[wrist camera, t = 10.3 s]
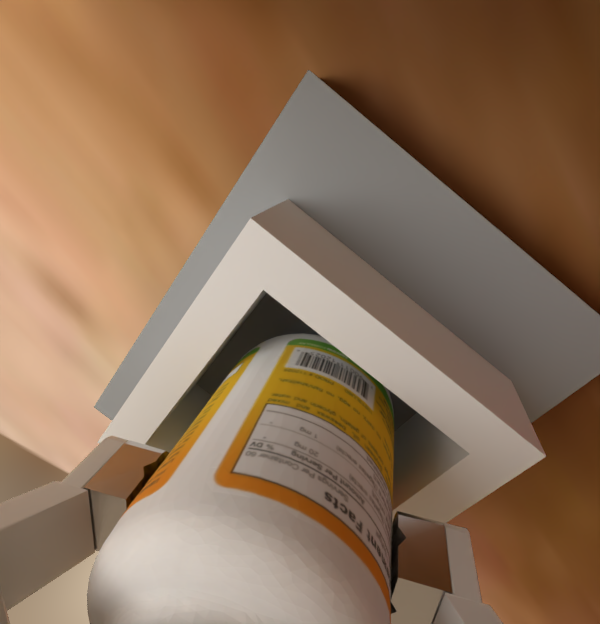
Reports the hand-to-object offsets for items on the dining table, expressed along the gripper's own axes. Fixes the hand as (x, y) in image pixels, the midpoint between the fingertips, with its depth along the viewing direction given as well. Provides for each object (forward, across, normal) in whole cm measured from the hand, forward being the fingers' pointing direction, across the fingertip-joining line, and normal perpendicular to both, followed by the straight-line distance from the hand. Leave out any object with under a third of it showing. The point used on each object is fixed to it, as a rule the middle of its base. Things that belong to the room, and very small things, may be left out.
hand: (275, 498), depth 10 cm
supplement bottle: (+4, 0, 0) cm, 4 cm away
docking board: (+7, 0, 0) cm, 7 cm away
